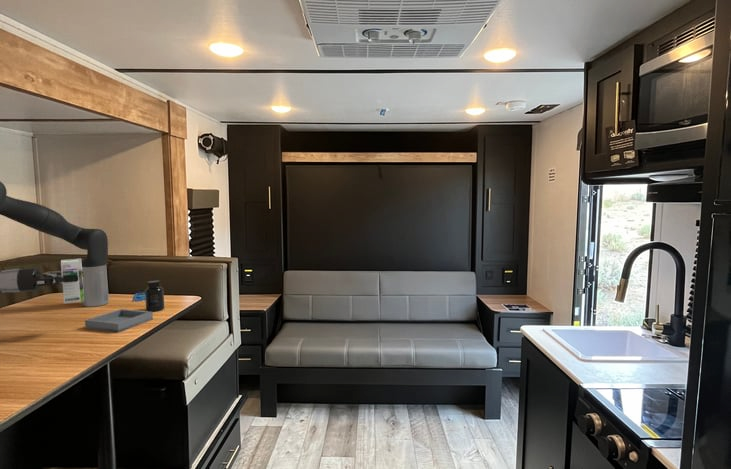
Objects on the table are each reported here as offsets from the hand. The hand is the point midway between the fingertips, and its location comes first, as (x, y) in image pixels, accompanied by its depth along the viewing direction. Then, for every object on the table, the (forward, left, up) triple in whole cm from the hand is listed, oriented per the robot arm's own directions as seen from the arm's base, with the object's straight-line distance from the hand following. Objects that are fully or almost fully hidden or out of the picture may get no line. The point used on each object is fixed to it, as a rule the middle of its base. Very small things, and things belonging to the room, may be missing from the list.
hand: (80, 276), depth 137 cm
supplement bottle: (+4, +28, -20) cm, 34 cm away
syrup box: (-2, -1, -9) cm, 9 cm away
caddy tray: (+6, +9, -19) cm, 22 cm away
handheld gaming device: (-18, +44, -20) cm, 52 cm away
